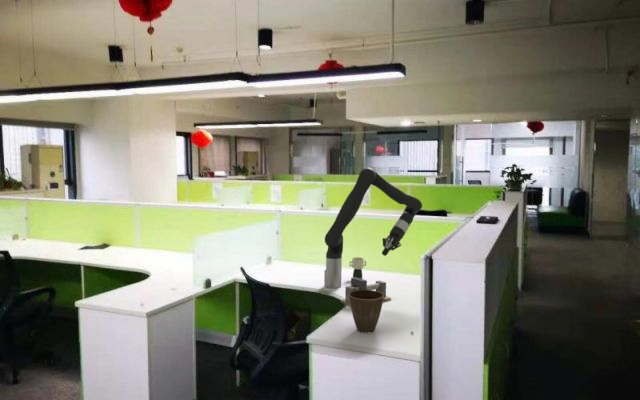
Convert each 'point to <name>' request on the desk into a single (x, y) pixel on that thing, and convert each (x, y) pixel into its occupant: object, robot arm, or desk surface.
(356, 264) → the trophy cup
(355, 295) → the plant pot
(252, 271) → the desk surface
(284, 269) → the desk surface
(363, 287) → the gray notched block
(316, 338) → the desk surface
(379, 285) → the pipe stand
